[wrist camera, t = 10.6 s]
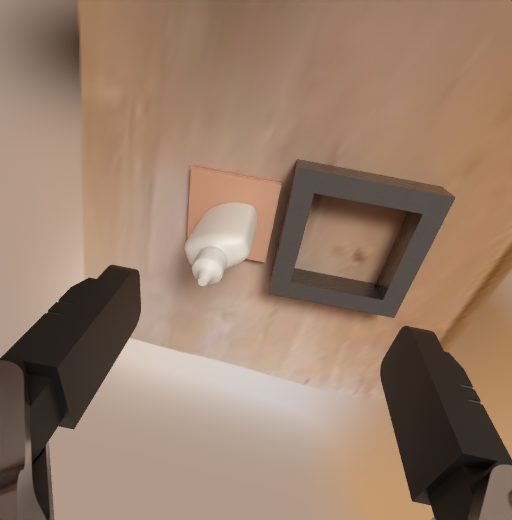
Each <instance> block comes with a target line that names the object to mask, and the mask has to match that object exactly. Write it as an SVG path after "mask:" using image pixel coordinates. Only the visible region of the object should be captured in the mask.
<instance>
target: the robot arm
mask: <svg viewBox="0 0 512 520" xmlns="http://www.w3.org/2000/svg"><path fill="white" fill-rule="evenodd" d="M140 312H141V298H140V275H139V271H138V270H136V269H131V268H126V267H122V266H117V265H110V266H109V267H107V269H106V270H105V271H104V272H103V273H102V274H101V275H100V276H99V277H98V278H97V279H93V278H88V279H86V280H84V281H82V282H80V283H78V284H76V285H74V286H72V287H71V288H70V289H69V290H68V291H67V292H66V293H65V294H64V295H63V296H62V297H61V298H60V299H59V302H58V303H57V302H56V303H55V304H54V305H53V306H52V307H51V308H50V309H49V310H48V313H47V314H44V315H43V316H42V317H41V318H40V319H39V320H38V321H37V322H36V323H35V324H34V325H33V326H32V327H31V328H30V329H29V330H28V332H26V333H25V334H24V335H23V336H22V337H21V338H20V339H19V340H18V341H17V342H16V343H15V344H14V345H13V346H12V347H11V348H10V349H9V350H8V351H7V352H6V353H5V354H4V355H3V356H2V357H1V358H0V520H54V510H53V495H52V481H51V466H50V453H49V443H48V441H49V439H50V438H51V436H52V435H53V433H54V432H55V430H56V428H57V427H58V426H61V427H65V428H70V429H74V428H75V427H76V425H77V423H78V422H79V420H80V418H81V417H82V415H83V413H84V412H85V410H86V409H87V407H88V405H89V404H90V402H91V400H92V399H93V397H94V395H95V394H96V392H97V390H98V389H99V387H100V385H101V384H102V382H103V380H104V379H105V377H106V376H107V374H108V372H109V371H110V369H111V367H112V366H113V364H114V362H115V361H116V359H117V357H118V355H119V354H120V352H121V351H122V349H123V347H124V346H125V344H126V343H127V341H128V339H129V338H130V336H131V334H132V333H133V331H134V329H135V328H136V326H137V323H138V320H139V317H140ZM380 375H381V382H382V385H383V389H384V393H385V397H386V401H387V405H388V409H389V413H390V416H391V421H392V424H393V428H394V432H395V436H396V440H397V444H398V448H399V452H400V455H401V460H402V463H403V467H404V471H405V475H406V479H407V483H408V486H409V491H410V495H411V499H412V501H413V502H418V503H423V504H427V505H431V507H432V510H433V513H434V517H433V518H432V519H431V520H512V459H511V457H510V455H509V453H508V451H507V450H506V448H505V446H504V444H503V442H502V440H501V438H500V436H499V435H498V433H497V431H496V429H495V427H494V425H493V423H492V421H491V419H490V418H489V416H488V414H487V412H486V410H485V408H484V406H483V405H481V404H480V399H479V397H478V395H477V393H476V391H475V390H473V389H472V387H473V386H472V384H471V382H470V380H469V378H468V376H467V374H466V372H465V371H464V369H463V368H462V367H461V366H460V364H459V363H458V362H457V361H456V360H455V359H454V358H453V357H452V356H451V355H450V354H449V353H448V352H444V350H443V348H442V346H441V344H440V342H439V340H438V338H437V336H436V335H435V333H434V332H432V331H429V330H424V329H419V328H414V327H409V326H404V327H402V328H401V330H400V331H399V333H398V335H397V336H396V338H395V340H394V341H393V343H392V345H391V346H390V348H389V350H388V352H387V353H386V355H385V357H384V358H383V361H382V364H381V371H380Z"/></svg>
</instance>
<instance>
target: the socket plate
mask: <svg viewBox="0 0 512 520" xmlns="http://www.w3.org/2000/svg"><path fill="white" fill-rule="evenodd" d="M314 193H315V194H320V195H326V196H331V197H336V198H341V199H346V200H352V201H357V202H362V203H367V204H373V205H378V206H383V207H388V208H394V209H399V210H404V211H409V212H408V214H407V216H406V218H405V221H404V223H403V225H402V228H401V230H400V232H399V234H398V237H397V239H396V241H395V244H394V246H393V248H392V250H391V253H390V255H389V257H388V259H387V262H386V264H385V266H384V269H383V271H382V273H381V275H380V278H379V280H378V282H377V284H373V283H368V282H362V281H357V280H352V279H347V278H342V277H337V276H331V275H326V274H321V273H316V272H311V271H306V270H300V269H295V268H294V267H295V264H296V260H297V256H298V252H299V249H300V245H301V241H302V237H303V233H304V230H305V226H306V222H307V218H308V215H309V211H310V207H311V203H312V200H313V196H314ZM455 198H456V197H454V196H453V195H452V194H451V193H449V192H448V191H447V190H445V189H444V188H443V187H440V186H435V185H430V184H424V183H419V182H414V181H409V180H403V179H398V178H393V177H388V176H382V175H377V174H372V173H367V172H361V171H356V170H351V169H346V168H340V167H335V166H330V165H325V164H319V163H314V162H309V161H304V160H298V159H297V162H296V167H295V171H294V176H293V180H292V185H291V189H290V194H289V198H288V203H287V207H286V212H285V216H284V221H283V225H282V229H281V234H280V238H279V243H278V247H277V252H276V256H275V261H274V265H273V270H272V274H271V279H270V287H269V294H273V295H279V296H284V297H289V298H294V299H299V300H304V301H310V302H315V303H320V304H325V305H330V306H335V307H340V308H346V309H351V310H356V311H361V312H366V313H371V314H376V315H382V316H387V317H392V318H394V317H395V315H396V313H397V311H398V309H399V307H400V305H401V303H402V302H403V300H404V298H405V296H406V294H407V292H408V290H409V288H410V286H411V284H412V282H413V280H414V278H415V276H416V274H417V272H418V270H419V268H420V266H421V264H422V262H423V260H424V258H425V256H426V254H427V252H428V251H429V249H430V247H431V245H432V243H433V241H434V239H435V237H436V235H437V233H438V231H439V229H440V227H441V225H442V223H443V221H444V219H445V217H446V215H447V213H448V211H449V209H450V207H451V205H452V203H453V201H454V200H455Z"/></svg>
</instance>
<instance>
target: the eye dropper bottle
mask: <svg viewBox="0 0 512 520" xmlns="http://www.w3.org/2000/svg"><path fill="white" fill-rule="evenodd" d="M257 223H258V220H257V215H256V211H255V208H254V207H253V206H252V205H249V204H245V203H237V202H232V203H225V204H221V205H218V206H215V207H213V208H211V209H210V210H208V211H207V212H205V213H204V215H203V216H202V218H201V219H200V221H199V222H198V224H197V225H196V227H195V229H194V230H193V232H192V233H191V235H190V236H189V238H188V240H187V242H186V243H185V246H184V250H185V254H186V257H187V259H188V261H189V263H190V264H191V265H192V273H193V275H194V277H195V278H196V279H197V280H198V284H199V285H200V286H206V285H207V284H208V285H212V284H215V283H218V282H219V281H220V280H221V279H222V276H223V274H224V271H225V269H227V268H230V267H232V266H235V265H237V264H239V263H241V262H242V261H244V260H245V259H246V258H247V257H248V256H249V254H250V251H251V248H252V244H253V240H254V236H255V232H256V228H257Z"/></svg>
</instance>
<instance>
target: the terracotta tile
mask: <svg viewBox="0 0 512 520" xmlns="http://www.w3.org/2000/svg"><path fill="white" fill-rule="evenodd" d="M281 184H282V183H281V182H276V181H270V180H265V179H260V178H255V177H249V176H244V175H239V174H234V173H228V172H223V171H218V170H213V169H207V168H202V167H197V166H192V167H191V174H190V192H189V211H188V230H187V240H188V238H189V236H190V235H191V233H192V232H193V230H194V229H195V227H196V225H197V224H198V222H199V221H200V219H201V218H202V216H203V215H204V213H205V212H207V211H208V210H210V209H211V208H213V207H215V206H218V205H221V204H225V203H232V202H237V203H245V204H249V205H252V206H253V207H254V208H255V211H256V215H257V220H258V223H257V228H256V232H255V236H254V240H253V244H252V248H251V251H250V254H249V256H248V257H247V258H246V259H249V260H254V261H260V262H266V257H267V252H268V247H269V243H270V238H271V233H272V228H273V223H274V218H275V214H276V209H277V204H278V199H279V194H280V189H281Z"/></svg>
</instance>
